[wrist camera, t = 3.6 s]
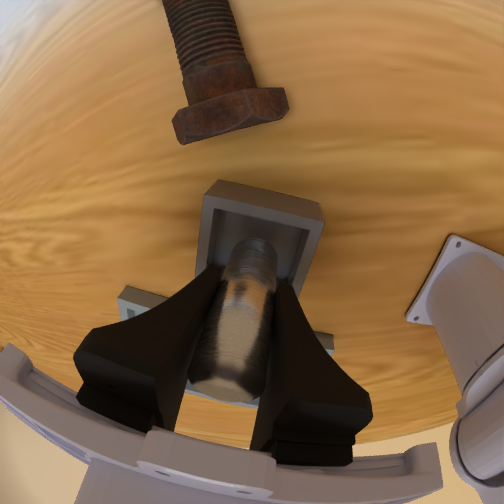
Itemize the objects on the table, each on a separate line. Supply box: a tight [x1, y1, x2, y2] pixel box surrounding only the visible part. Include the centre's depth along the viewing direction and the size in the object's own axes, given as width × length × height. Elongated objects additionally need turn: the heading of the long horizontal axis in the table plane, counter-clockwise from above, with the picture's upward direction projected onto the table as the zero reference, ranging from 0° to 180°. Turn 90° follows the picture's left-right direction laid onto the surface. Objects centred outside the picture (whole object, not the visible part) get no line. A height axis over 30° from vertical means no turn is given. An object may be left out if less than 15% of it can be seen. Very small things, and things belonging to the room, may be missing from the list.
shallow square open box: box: [195, 180, 325, 298], centre depth 16 cm, size 6×6×3 cm
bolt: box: [162, 0, 289, 145], centre depth 9 cm, size 6×5×15 cm
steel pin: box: [187, 238, 278, 402], centre depth 12 cm, size 3×3×8 cm
